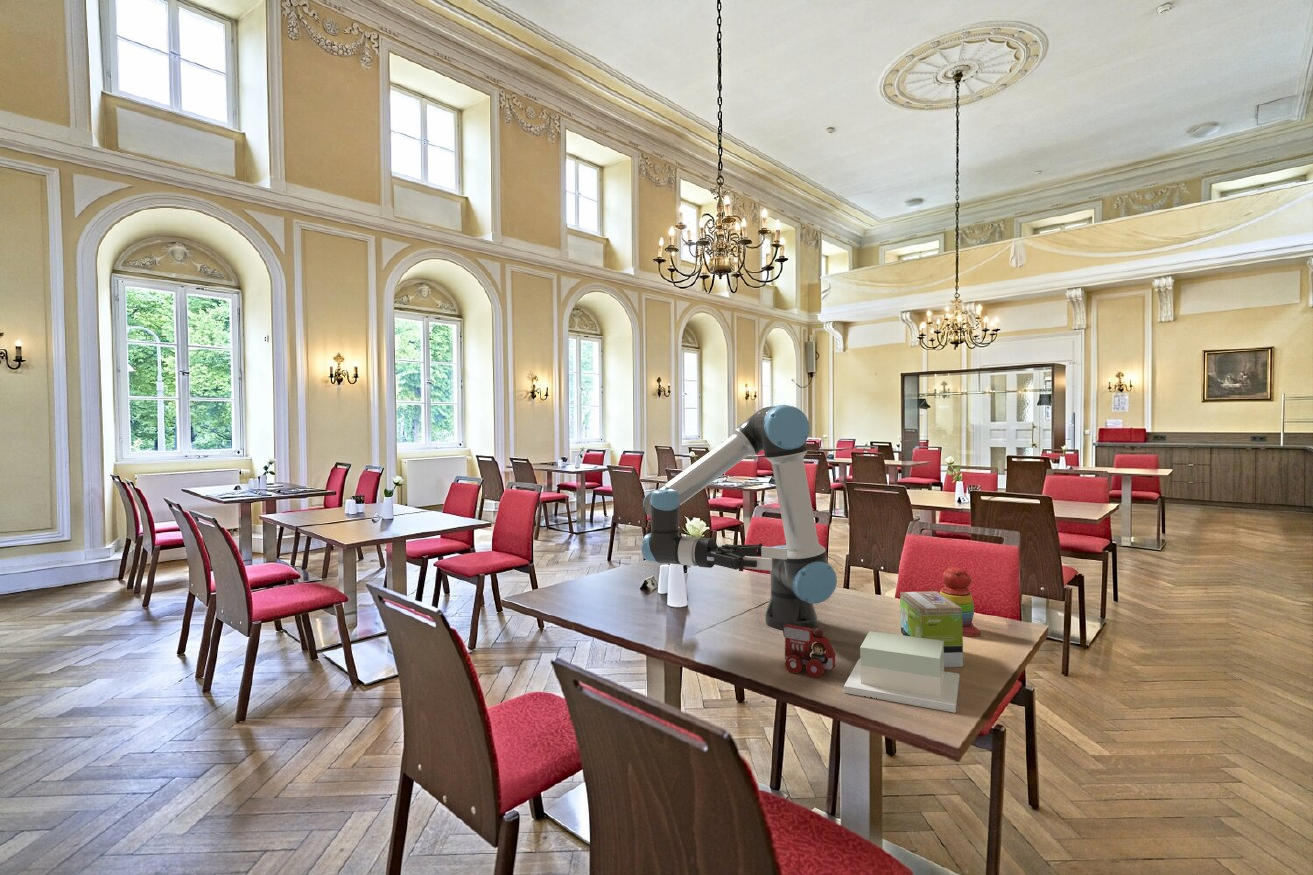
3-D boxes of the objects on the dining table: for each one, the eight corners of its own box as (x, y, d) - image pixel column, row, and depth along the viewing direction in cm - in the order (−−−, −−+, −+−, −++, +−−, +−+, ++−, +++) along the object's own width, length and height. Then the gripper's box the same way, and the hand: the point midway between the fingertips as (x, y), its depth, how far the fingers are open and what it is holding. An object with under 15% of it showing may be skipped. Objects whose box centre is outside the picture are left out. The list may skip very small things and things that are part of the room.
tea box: (899, 646, 164) (898, 590, 164) (938, 646, 164) (937, 590, 163) (922, 668, 149) (921, 606, 149) (964, 668, 149) (964, 606, 148)
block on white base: (844, 692, 136) (843, 649, 136) (859, 664, 152) (858, 625, 152) (955, 712, 126) (955, 665, 125) (959, 680, 141) (958, 638, 141)
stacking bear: (982, 637, 170) (981, 572, 169) (942, 635, 172) (942, 571, 171) (971, 624, 180) (970, 563, 180) (933, 623, 182) (932, 562, 182)
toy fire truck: (830, 681, 142) (829, 636, 142) (778, 670, 149) (778, 627, 149) (839, 671, 148) (838, 627, 148) (789, 661, 155) (788, 619, 155)
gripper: (716, 557, 172) (792, 564, 163) (678, 576, 150) (764, 586, 141) (716, 530, 172) (792, 535, 163) (678, 545, 150) (764, 552, 140)
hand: (779, 559), depth 152 cm, fingers open, 13 cm apart
